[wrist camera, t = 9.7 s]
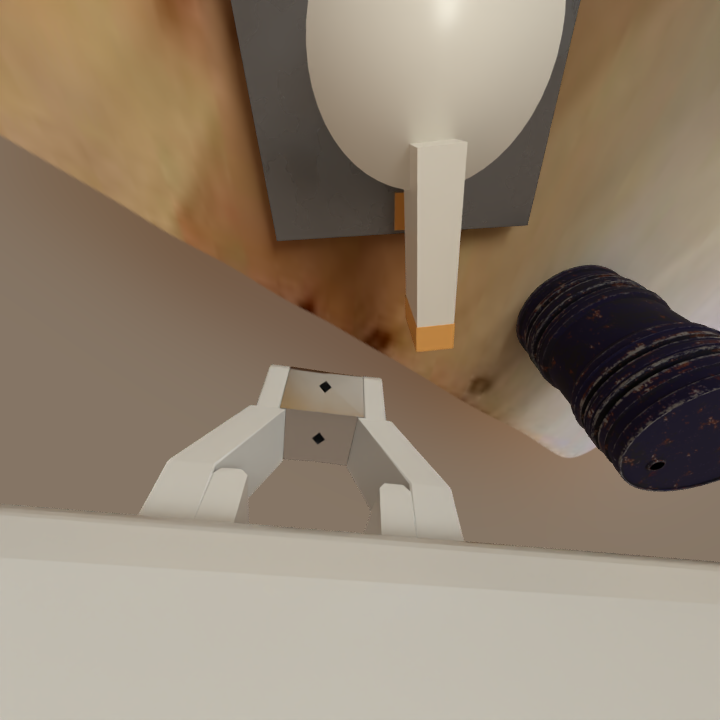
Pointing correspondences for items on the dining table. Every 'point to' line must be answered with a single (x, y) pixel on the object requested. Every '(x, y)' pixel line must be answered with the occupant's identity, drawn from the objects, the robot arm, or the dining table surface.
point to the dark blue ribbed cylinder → (630, 375)
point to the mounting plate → (333, 168)
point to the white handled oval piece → (430, 113)
